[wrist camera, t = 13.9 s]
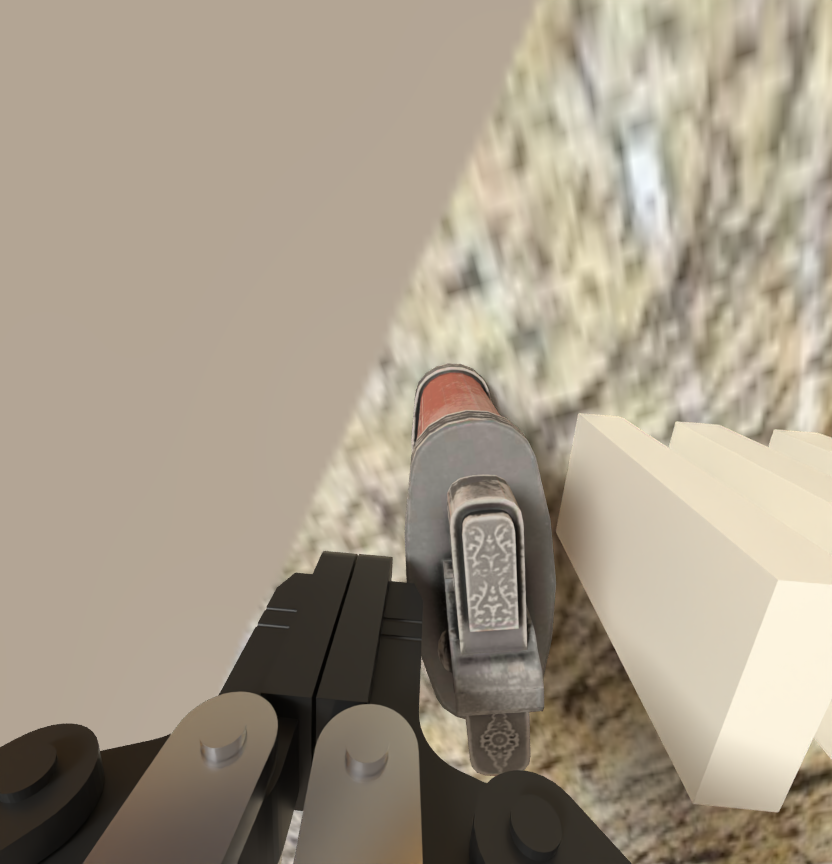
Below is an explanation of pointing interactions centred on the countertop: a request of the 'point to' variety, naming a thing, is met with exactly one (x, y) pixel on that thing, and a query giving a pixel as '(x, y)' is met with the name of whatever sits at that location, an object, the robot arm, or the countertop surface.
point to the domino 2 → (765, 491)
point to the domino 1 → (702, 611)
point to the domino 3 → (804, 448)
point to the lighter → (479, 564)
